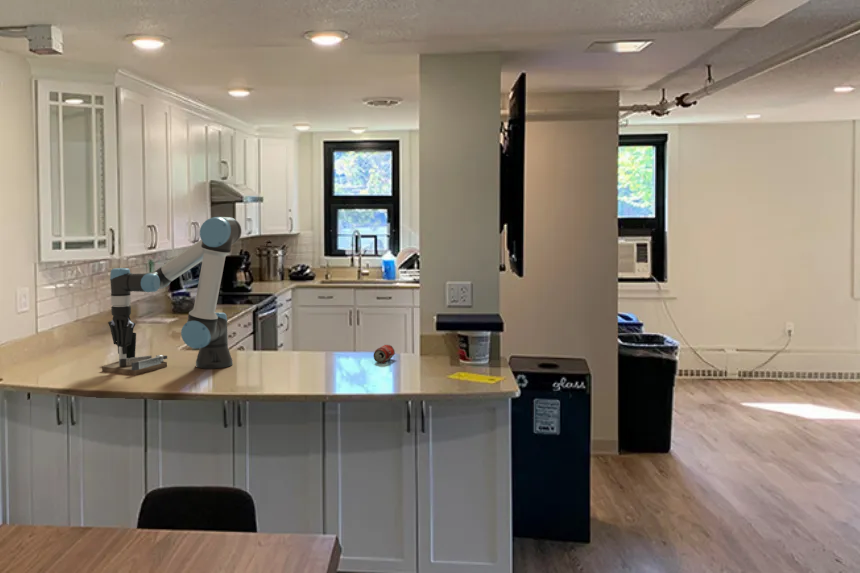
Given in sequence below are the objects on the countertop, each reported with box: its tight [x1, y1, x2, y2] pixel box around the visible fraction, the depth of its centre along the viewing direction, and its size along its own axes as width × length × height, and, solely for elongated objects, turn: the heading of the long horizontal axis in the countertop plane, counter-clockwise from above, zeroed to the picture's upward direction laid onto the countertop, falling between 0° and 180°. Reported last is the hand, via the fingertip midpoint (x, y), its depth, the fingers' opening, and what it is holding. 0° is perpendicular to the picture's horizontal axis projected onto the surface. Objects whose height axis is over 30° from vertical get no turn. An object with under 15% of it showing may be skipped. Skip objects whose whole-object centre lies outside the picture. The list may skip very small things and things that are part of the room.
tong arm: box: [118, 355, 153, 367], centre depth 316 cm, size 1×13×3 cm, turn 130°
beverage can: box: [373, 344, 396, 364], centre depth 333 cm, size 7×12×7 cm, turn 166°
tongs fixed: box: [132, 354, 168, 370], centre depth 315 cm, size 4×20×3 cm, turn 156°
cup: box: [126, 332, 137, 358], centre depth 336 cm, size 8×8×12 cm
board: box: [101, 361, 168, 376], centre depth 318 cm, size 18×18×2 cm
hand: (122, 361), depth 315 cm, fingers closed
